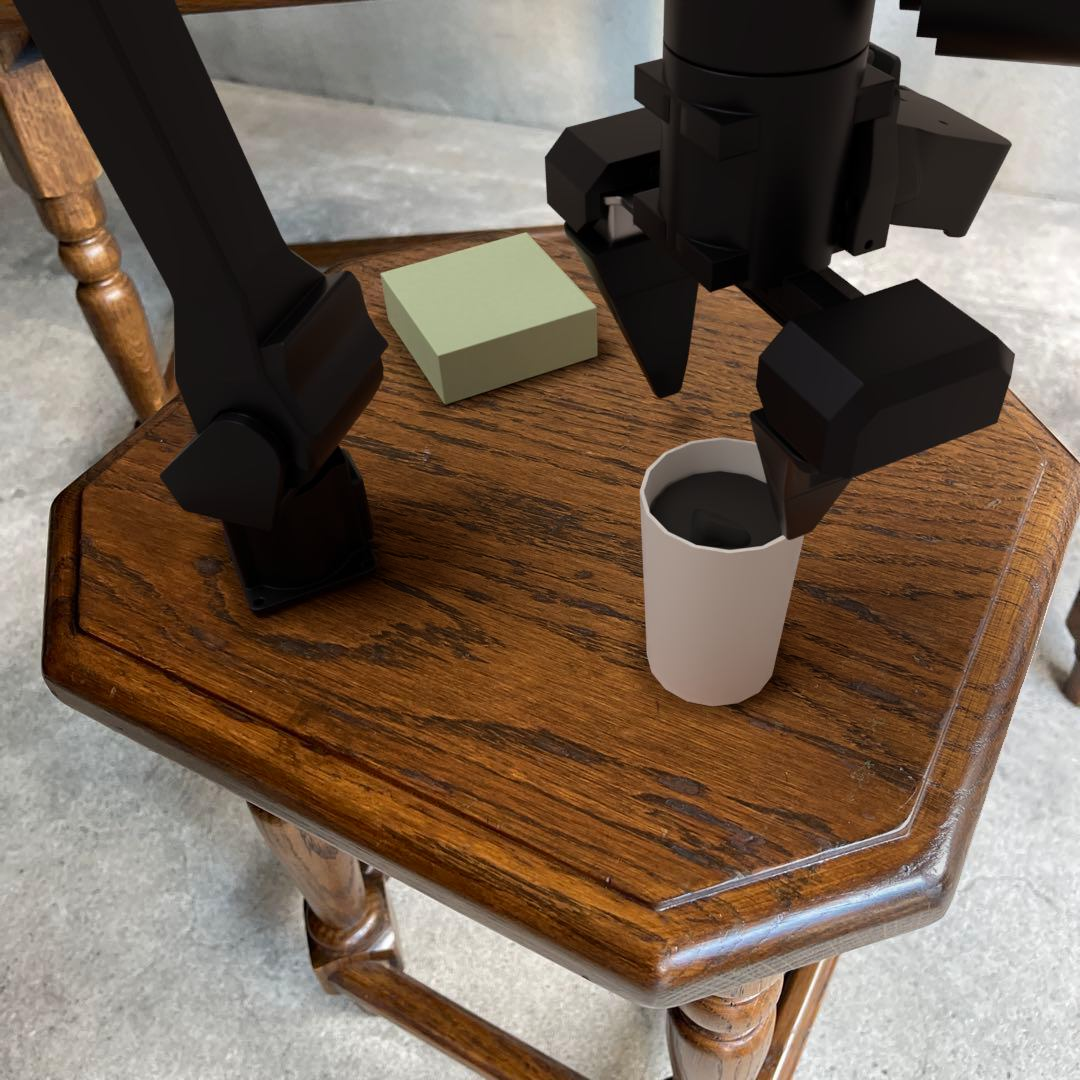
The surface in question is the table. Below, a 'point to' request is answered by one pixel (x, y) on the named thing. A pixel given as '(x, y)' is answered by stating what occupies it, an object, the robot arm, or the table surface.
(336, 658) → the table surface
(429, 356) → the riser block
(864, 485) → the table surface
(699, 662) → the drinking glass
